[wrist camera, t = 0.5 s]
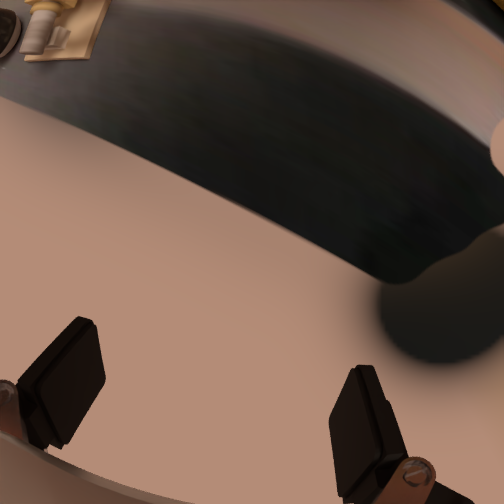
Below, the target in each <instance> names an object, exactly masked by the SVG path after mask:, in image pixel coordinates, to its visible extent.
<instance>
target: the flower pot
mask: <svg viewBox="0 0 504 504" xmlns="http://www.w3.org/2000/svg"><path fill="white" fill-rule="evenodd" d="M493 1H494V2H495V3H496V4H497V5H498V6H499V7H500V8H501V9H502V10H503V11H504V0H493Z"/></svg>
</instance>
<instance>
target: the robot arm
mask: <svg viewBox="0 0 504 504" xmlns="http://www.w3.org/2000/svg"><path fill="white" fill-rule="evenodd" d="M105 380H106V375H105V371H104V366H103V361H102V356H101V350H100V344H99V338H98V332H97V327H96V325H94V323H93V321H92V320H90V319H87V318H83V317H80V316H78V317H76V318H75V319H74V320H73V321H72V322H71V323H70V324H69V325H68V326H67V327H66V328H65V329H64V330H63V331H62V332H61V333H60V335H59V336H58V337H57V338H56V339H55V340H54V341H53V342H52V343H51V344H50V345H49V346H48V347H47V348H46V349H45V350H44V351H43V352H42V354H41V355H40V356H39V357H38V358H37V359H36V360H35V361H34V362H33V363H32V364H31V366H30V367H29V368H28V369H27V370H26V371H25V372H24V373H23V375H22V376H21V377H20V378H19V379H18V383H17V384H16V385H14V384H13V383H12V382H11V381H7V380H0V504H192V503H188V502H183V501H179V500H174V499H170V498H166V497H162V496H159V495H155V494H151V493H148V492H144V491H141V490H137V489H135V488H131V487H128V486H125V485H122V484H119V483H116V482H114V481H111V480H108V479H105V478H103V477H100V476H98V475H95V474H93V473H90V472H87V471H85V470H83V469H81V468H78V467H76V466H74V465H72V464H69V463H67V462H65V461H63V460H60V459H59V458H56V457H54V456H52V455H50V454H48V451H47V447H48V446H49V444H51V445H52V446H55V447H57V448H58V449H62V447H63V446H64V444H68V443H69V442H70V440H71V438H72V437H73V435H74V433H75V432H76V430H77V428H78V427H79V425H80V423H81V421H82V420H83V418H84V416H85V415H86V413H87V411H88V410H89V408H90V407H91V405H92V403H93V402H94V400H95V398H96V397H97V395H98V393H99V392H100V390H101V389H102V387H103V386H104V384H105ZM329 429H330V437H331V444H332V451H333V459H334V467H335V474H336V482H337V492H338V496H339V497H342V498H343V504H350V503H354V504H474V503H473V501H472V500H470V499H468V498H467V497H465V496H463V495H461V494H459V493H457V492H455V491H453V490H451V489H449V488H448V487H446V486H444V485H442V484H440V483H438V482H437V481H435V479H436V471H435V469H434V467H433V465H432V464H431V463H430V462H429V461H427V460H426V459H424V458H421V457H409V456H408V454H407V450H406V447H405V444H404V441H403V438H402V435H401V432H400V429H399V426H398V423H397V421H396V418H395V415H394V412H393V409H392V407H391V404H390V402H389V401H388V400H386V398H385V396H384V393H383V390H382V387H381V385H380V382H379V379H378V377H377V374H376V371H375V369H374V367H373V366H372V365H357V366H356V367H355V368H352V369H351V370H350V372H349V374H348V377H347V379H346V381H345V384H344V386H343V388H342V391H341V393H340V395H339V397H338V399H337V401H336V404H335V406H334V408H333V410H332V412H331V414H330V417H329Z"/></svg>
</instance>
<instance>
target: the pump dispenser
mask: <svg viewBox="0 0 504 504" xmlns="http://www.w3.org/2000/svg"><path fill="white" fill-rule="evenodd" d="M20 31H21V23H20V20H19V18H18V16H17V15H16V14H15V12H14V11H12V10H9V9H2V8H0V58H1V57H3V56H4V55H6V54H7V53H8V52H9V51H10V50H11V49H12V48H13V47H14V45H15V44H16V42H17V40H18V38H19V35H20Z"/></svg>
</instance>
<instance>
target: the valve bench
mask: <svg viewBox="0 0 504 504" xmlns="http://www.w3.org/2000/svg"><path fill="white" fill-rule="evenodd" d="M110 2H111V0H25V2H24V3H27V4H29V5H32V9H31V11H30V14H31V15H32V17H31V20H30V22H29V25H28V28H27V30H26V33H25V36H24V39H23V42H22V45H21V48H20V51H19V53H21V54H25V55H26V56H25V59H24V61H28V62H34V61H47V60H69V59H90V55H91V52H92V49H93V46H94V43H95V41H96V38H97V35H98V32H99V30H100V27H101V24H102V22H103V19H104V17H105V14H106V12H107V9H108V7H109V5H110Z"/></svg>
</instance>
